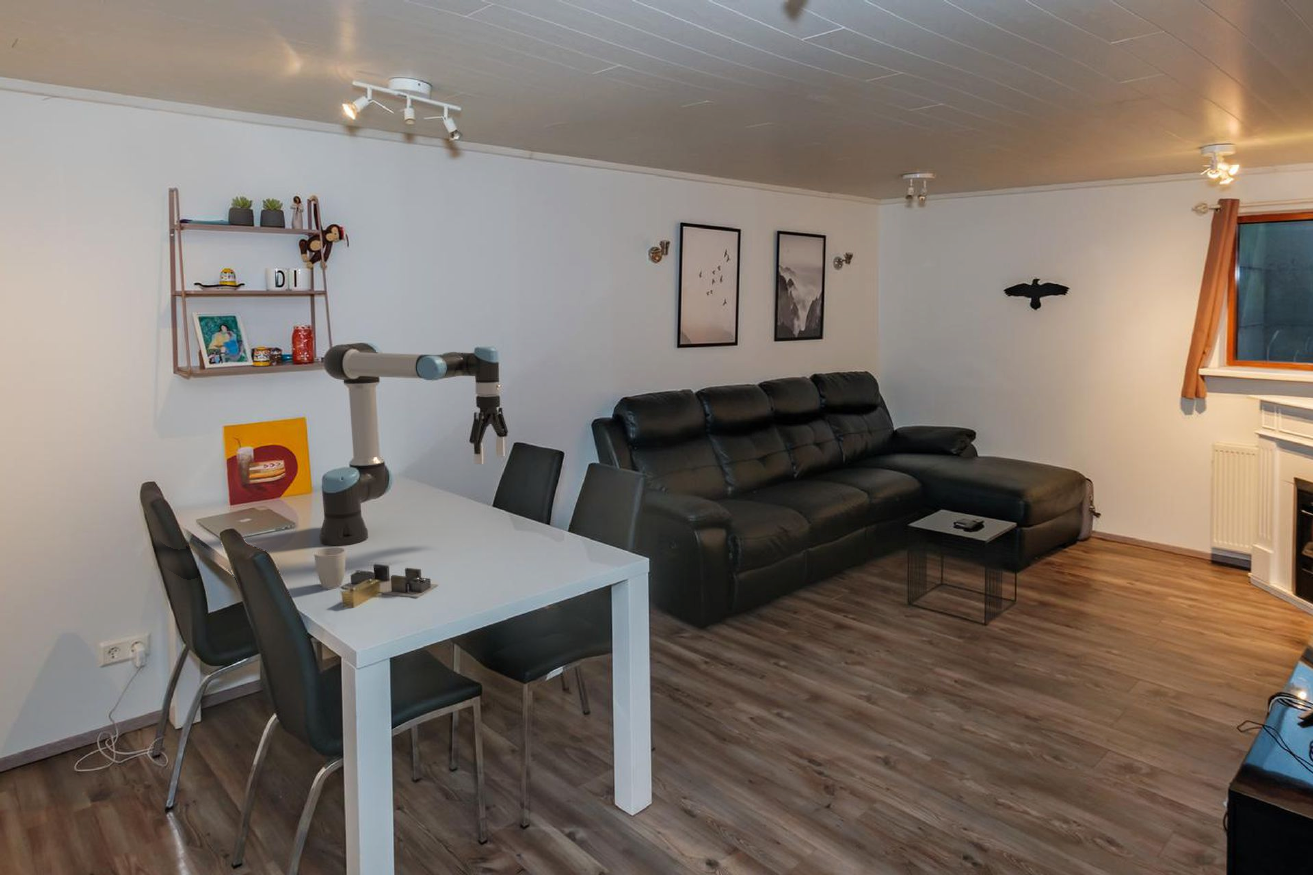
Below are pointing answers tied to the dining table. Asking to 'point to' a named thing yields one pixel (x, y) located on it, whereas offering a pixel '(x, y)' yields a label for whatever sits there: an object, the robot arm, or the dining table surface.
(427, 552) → the dining table surface
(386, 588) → the mat
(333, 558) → the cup
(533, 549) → the dining table surface
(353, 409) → the robot arm
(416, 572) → the grey assembly fixture
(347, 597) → the gold rectangular block
